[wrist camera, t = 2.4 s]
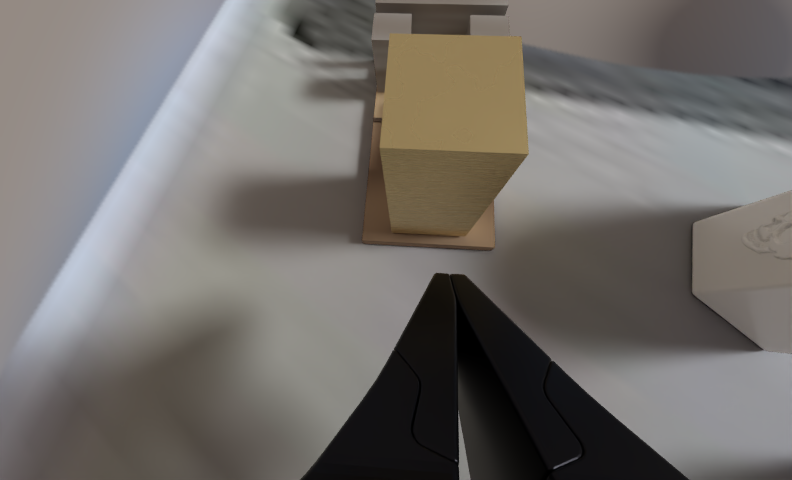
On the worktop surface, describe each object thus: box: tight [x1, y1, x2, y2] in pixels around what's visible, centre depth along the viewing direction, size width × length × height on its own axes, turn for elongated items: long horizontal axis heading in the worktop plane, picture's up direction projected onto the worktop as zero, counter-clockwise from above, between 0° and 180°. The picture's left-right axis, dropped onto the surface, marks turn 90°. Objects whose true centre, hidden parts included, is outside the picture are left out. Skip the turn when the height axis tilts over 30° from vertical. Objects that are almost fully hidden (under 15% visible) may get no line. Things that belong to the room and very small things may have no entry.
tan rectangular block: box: [380, 33, 529, 237], centre depth 14 cm, size 9×4×9 cm, turn 176°
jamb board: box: [362, 0, 510, 251], centre depth 18 cm, size 14×8×5 cm, turn 176°
